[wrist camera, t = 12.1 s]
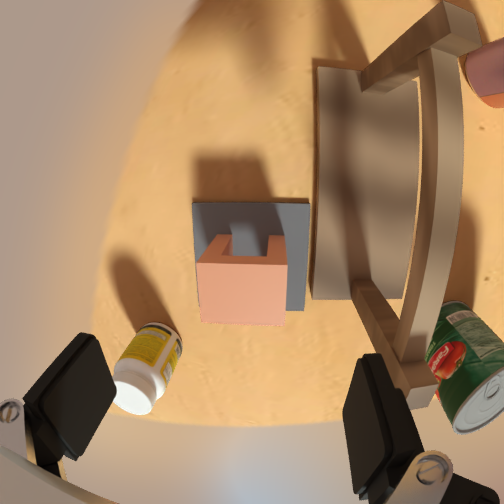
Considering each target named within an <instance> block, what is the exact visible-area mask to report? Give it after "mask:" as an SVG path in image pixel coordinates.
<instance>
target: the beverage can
mask: <svg viewBox="0 0 504 504" xmlns="http://www.w3.org/2000/svg"><path fill="white" fill-rule="evenodd" d="M465 71H466V76H467V79H468V82H469V84H470V86H471V88H472V90H473V91H474V93H475V94H476V95H477V96H478V97H479V98H480V99H481V100H482V101H483V102H484V103H486V104H487V105H489V106H491V107H493V108H504V37H503V38H500V39H498V40H495V41H493V42H490V43H488V44H486V45H483V46H482V47H480V48H478V49H475V50H473V51H471V52H469V54H468V55H467V58H466V63H465Z"/></svg>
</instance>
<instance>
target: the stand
mask: <svg viewBox="0 0 504 504" xmlns="http://www.w3.org/2000/svg"><path fill="white" fill-rule="evenodd" d="M480 47H482V42H481V37H480V33H479V29H478V26H477V22H476V18H475V15H474V14H473V13H471V12H469V11H467V10H465V9H462V8H460V7H458V6H456V5H453V4H451V3H449V2H446V1H444V0H442V1H441V2H440V3H439V4H437V5H436V6H435V7H434V8H433V9H431V10H430V11H429V12H428V13H427V14H425V15H424V16H423V17H422V18H421V19H420V20H418V21H417V22H416V23H415V24H414V25H413V26H412V27H410V28H409V29H408V30H407V31H406V32H405V33H404V34H403V35H401V36H400V37H399V38H398V39H397V40H396V41H395V42H394V43H393V44H391V45H390V46H389V47H388V48H387V49H386V50H385V51H384V52H383V53H382V54H381V55H379V56H378V57H377V58H376V59H375V60H374V61H373V62H372V63H371V64H370V65H369V66H368V67H367V68H366V69H365V70H364V71H358V70H350V69H342V68H332V67H320V66H318V68H317V70H316V85H317V193H316V219H315V239H314V255H313V270H312V283H311V297H312V300H352V301H353V303H354V305H355V308H356V310H357V312H358V314H359V316H360V318H361V320H362V322H363V325H364V327H365V329H366V331H367V333H368V335H369V338H370V340H371V342H372V344H373V347H374V349H375V351H376V353H380V354H381V355H382V357H383V359H384V362H385V364H386V367H387V369H388V372H389V374H390V377H391V379H392V382H393V385H394V387H395V388H400V389H401V390H402V391H403V393H404V396H405V398H406V401H407V403H408V406H409V409H410V410H413V409H418V408H424V407H428V405H429V403H430V401H431V399H432V398H433V396H434V394H435V392H436V389H437V387H438V385H439V383H438V381H437V379H436V378H435V376H434V374H433V372H432V371H431V369H430V367H429V366H428V364H427V362H426V361H425V359H424V358H425V355H426V353H427V350H428V347H429V344H430V341H431V338H432V335H433V332H434V329H435V326H436V323H437V320H438V316H439V313H440V309H441V306H442V302H443V298H444V295H445V291H446V287H447V282H448V278H449V274H450V269H451V264H452V259H453V254H454V249H455V243H456V237H457V230H458V223H459V215H460V206H461V196H462V184H463V165H464V123H463V105H462V93H461V83H460V75H459V67H458V61H457V57H460V56H462V55H464V54H466V53H469V52H471V51H473V50H475V49H478V48H480ZM418 76H419V78H420V90H421V105H422V175H421V191H420V204H419V214H418V223H417V231H416V239H415V246H414V252H413V258H412V264H411V270H410V275H409V280H408V285H407V290H406V295H405V299H404V304H403V308H402V312H401V316H400V320H399V318H398V317H397V315H396V314H395V312H394V311H393V309H392V308H391V306H390V305H389V303H388V302H387V301H386V299H402V296H403V291H404V286H405V281H406V276H407V270H408V265H409V259H410V253H411V246H412V239H413V231H414V223H415V214H416V203H417V191H418V175H419V105H418V89H417V82H416V81H412V79H414V78H416V77H418Z"/></svg>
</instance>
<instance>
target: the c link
mask: <svg viewBox="0 0 504 504" xmlns="http://www.w3.org/2000/svg"><path fill="white" fill-rule="evenodd" d="M196 269H197V282H198V294H199V305H200V315H201V322H203V323H218V324H237V325H261V326H285V310H286V291H287V269H288V264H287V254H286V244H285V235H269V239H268V250H267V256H233V235H231V234H217V235H216V237H215V238H214V239H213V241H212V242H211V243H210V245H209V246H208V247H207V249H206V250H205V251H204V253H203V254H202V255H201V257H200V258H199V260H198V261H197V262H196Z"/></svg>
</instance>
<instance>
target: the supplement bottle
mask: <svg viewBox="0 0 504 504" xmlns="http://www.w3.org/2000/svg"><path fill="white" fill-rule="evenodd" d="M182 349H183V346H182V341H181V339H180V337H179V336H178V334H177V333H176V332H175V331H174V330H172V329H171V328H170V327H168V326H166V325H164V324H162V323H156V322H152V323H148V324H146V325H144V326H143V327H142V328H141V329H140V330H139V331H138V333H137V334H136V336H135V337H134V338H133V340H132V341H131V343H130V344H129V346H128V347H127V348H126V350H125V351H124V353H123V354H122V356H121V357H120V359H119V360H118V361H117V363H116V365H115V367H114V375H113V377H112V378H113V381H114V383H115V385H116V388H117V394H116V397H115V398H114V400H113V402H114V403H115V404H116V405H117V406H119V407H120V408H122V409H123V410H125V411H127V412H129V413H132V414H137V415H144V414H147V413H149V412H150V411H151V409H152V407H153V405H154V404H155V402H156V399H158V398H160V397H161V396H162V395H163V394H164V392H165V390H166V387H167V385H168V383H169V381H170V378H171V376H172V374H173V372H174V369H175V367H176V365H177V363H178V360H179V358H180V356H181V353H182Z"/></svg>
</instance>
